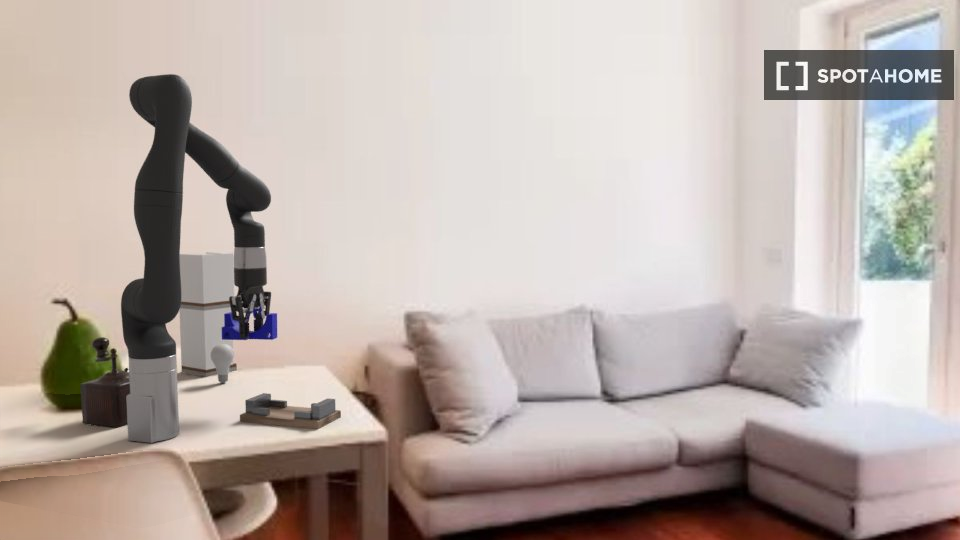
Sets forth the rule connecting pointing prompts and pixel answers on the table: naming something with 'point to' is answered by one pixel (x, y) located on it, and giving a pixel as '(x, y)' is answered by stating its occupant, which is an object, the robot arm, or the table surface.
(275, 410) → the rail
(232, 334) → the blue curved cradle
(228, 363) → the lightbulb
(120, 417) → the manual coffee grinder
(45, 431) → the table surface
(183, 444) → the table surface
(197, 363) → the white square pillar
